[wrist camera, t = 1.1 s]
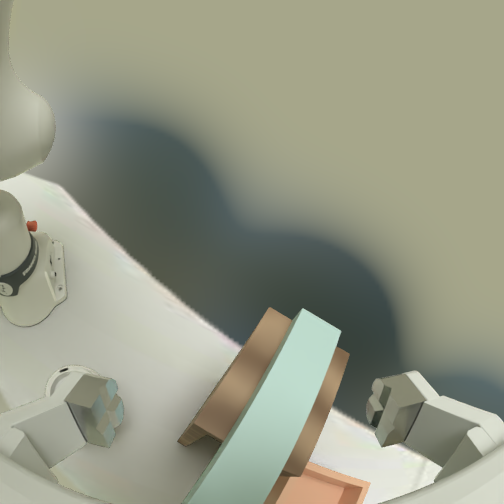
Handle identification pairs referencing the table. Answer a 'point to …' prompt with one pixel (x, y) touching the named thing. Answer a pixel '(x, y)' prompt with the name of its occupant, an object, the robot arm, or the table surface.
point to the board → (270, 418)
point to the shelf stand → (245, 382)
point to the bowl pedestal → (318, 488)
